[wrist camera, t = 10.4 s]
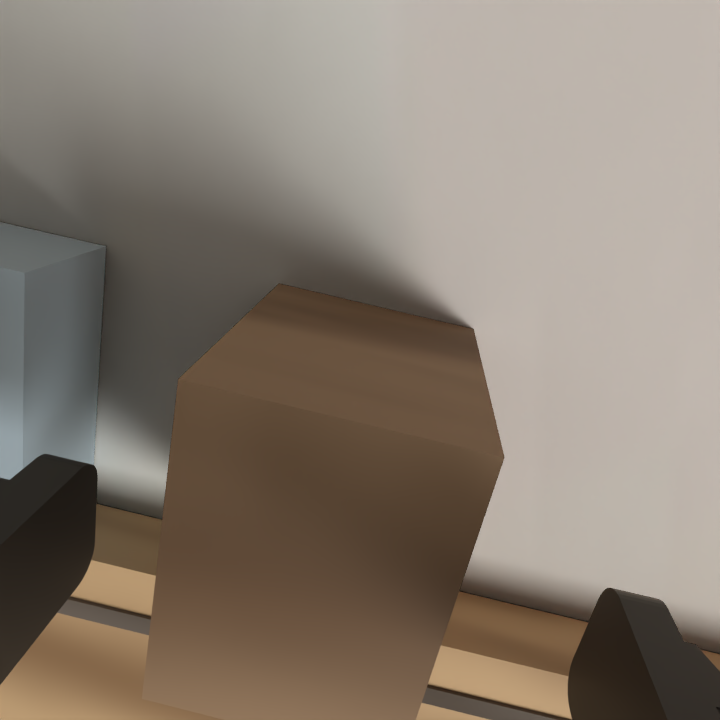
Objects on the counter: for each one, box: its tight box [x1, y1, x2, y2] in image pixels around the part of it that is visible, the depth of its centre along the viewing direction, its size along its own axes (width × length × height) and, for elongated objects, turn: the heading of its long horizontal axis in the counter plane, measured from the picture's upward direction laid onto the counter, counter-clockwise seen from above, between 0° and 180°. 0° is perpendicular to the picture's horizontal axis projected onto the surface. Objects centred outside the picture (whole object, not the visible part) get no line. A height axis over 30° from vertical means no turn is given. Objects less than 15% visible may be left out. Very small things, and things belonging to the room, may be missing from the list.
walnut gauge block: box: [142, 284, 504, 720], centre depth 12 cm, size 6×4×6 cm
